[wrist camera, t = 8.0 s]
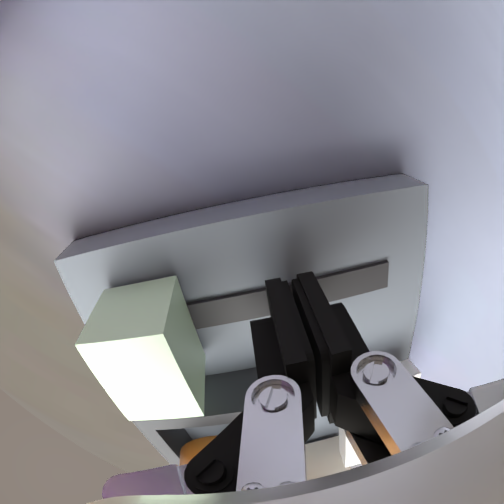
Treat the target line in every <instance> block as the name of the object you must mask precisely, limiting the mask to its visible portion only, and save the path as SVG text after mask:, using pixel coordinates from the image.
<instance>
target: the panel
mask: <svg viewBox="0 0 504 504" xmlns="http://www.w3.org/2000/svg"><path fill="white" fill-rule="evenodd" d="M427 217H428V184H426V183H423V182H421V181H419V180H417V179H414V178H412V177H410V176H407V175H405V174H396V175H389V176H381V177H374V178H367V179H361V180H354V181H348V182H341V183H335V184H329V185H323V186H317V187H311V188H305V189H299V190H294V191H288V192H283V193H277V194H272V195H267V196H262V197H257V198H251V199H246V200H241V201H237V202H232V203H227V204H222V205H217V206H213V207H208V208H203V209H199V210H194V211H190V212H186V213H181V214H177V215H172V216H168V217H164V218H160V219H156V220H151V221H147V222H143V223H139V224H135V225H131V226H127V227H123V228H120V229H116V230H112V231H108V232H104V233H101V234H97V235H93V236H89V237H86V238H82V239H79V240H75V241H73V242H72V243H71V244H70V245H69V246H68V247H67V248H66V249H65V250H64V251H63V252H62V253H61V254H60V255H59V256H58V257H57V258H56V259H55V260H54V262H55V265H56V267H57V269H58V271H59V274H60V276H61V278H62V280H63V282H64V285H65V287H66V289H67V291H68V293H69V295H70V297H71V299H72V301H73V303H74V305H75V307H76V309H77V311H78V313H79V315H80V316H81V318H82V320H83V322H84V324H86V322H87V320H88V318H89V316H90V314H91V312H92V310H93V309H94V307H95V305H96V303H97V301H98V299H99V298H100V296H101V294H102V292H103V291H104V289H109V288H114V287H120V286H125V285H130V284H135V283H140V282H145V281H150V280H155V279H160V278H165V277H170V276H177V278H178V281H179V284H180V287H181V290H182V293H183V296H184V299H185V302H186V304H187V307H188V310H189V313H190V316H191V318H192V321H193V324H194V326H195V329H196V332H197V334H198V337H199V340H200V342H201V345H202V347H203V350H204V353H205V355H206V356H205V398H204V416H199V417H189V418H178V419H163V420H142V421H132V422H133V423H134V424H135V425H136V427H137V428H138V429H139V430H140V431H141V432H142V434H143V435H144V436H145V437H146V438H147V439H148V441H149V442H150V443H151V444H152V445H153V446H154V447H155V448H156V449H157V451H158V452H159V453H160V454H161V455H162V456H163V457H164V458H165V459H166V460H167V461H168V462H169V463H170V464H171V465H172V464H177V465H178V466H179V464H180V450H181V448H182V447H183V446H184V445H185V444H186V443H188V442H190V441H192V440H195V439H198V438H202V437H207V436H216V435H218V434H219V433H221V432H222V431H223V430H224V429H225V428H226V427H227V426H228V425H229V424H230V423H231V422H232V421H233V420H234V419H235V418H236V417H237V416H238V415H239V414H240V413H241V412H242V411H243V410H244V403H245V396H246V392H247V390H248V388H249V387H250V386H251V384H253V383H254V382H255V381H257V380H258V377H257V370H256V363H255V355H254V348H253V341H252V334H251V327H250V321H253V320H259V319H264V318H269V317H271V316H270V310H269V304H268V298H267V292H266V287H265V280H269V279H274V278H279V277H280V278H281V281H286V280H287V282H288V284H289V287H290V290H291V292H292V295H293V291H292V283H291V280H292V279H296V275H297V274H300V273H305V272H310V271H312V272H313V273H314V275H315V277H316V279H317V281H318V283H319V284H320V286H321V288H322V290H323V292H324V294H325V296H326V298H327V300H328V302H329V304H330V305H331V304H335V303H340V302H341V303H343V305H344V306H345V308H346V310H347V311H348V313H349V315H350V317H351V318H352V320H353V322H354V324H355V326H356V327H357V329H358V331H359V333H360V335H361V336H362V338H363V340H364V342H365V344H366V346H367V347H368V349H369V351H382V352H387V353H389V354H391V355H393V356H394V357H396V358H397V359H398V360H399V361H400V362H401V361H403V360H406V359H408V357H409V353H410V348H411V344H412V339H413V334H414V329H415V324H416V318H417V312H418V306H419V300H420V293H421V285H422V278H423V269H424V259H425V248H426V235H427ZM316 405H317V402H316ZM336 436H339V427H337V426H335V424H334V423H332V424H329V421H328V418H327V416H324V417H321V415H320V412H319V409H318V405H317V418H316V419H315V431H314V433H313V434H312V435H311V437H310V438H309V439H308V440H307V442H306V443H305V444H308V443H312V442H316V441H320V440H324V439H328V438H332V437H336Z"/></svg>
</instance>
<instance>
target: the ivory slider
mask: <svg viewBox="0 0 504 504" xmlns="http://www.w3.org/2000/svg"><path fill="white" fill-rule="evenodd" d="M305 451H306V475H307V480H311V479H315V478H320V477H324V476H328V475H332V474H336V473H339V472H343V471H346V470H350V469H351V468H350V467H346V468H345V466H344V463H343V460H342V457H341V455H340V452H339V436H336V437H332V438H328V439H324V440H320V441H316V442H312V443H308V444H305Z"/></svg>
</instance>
